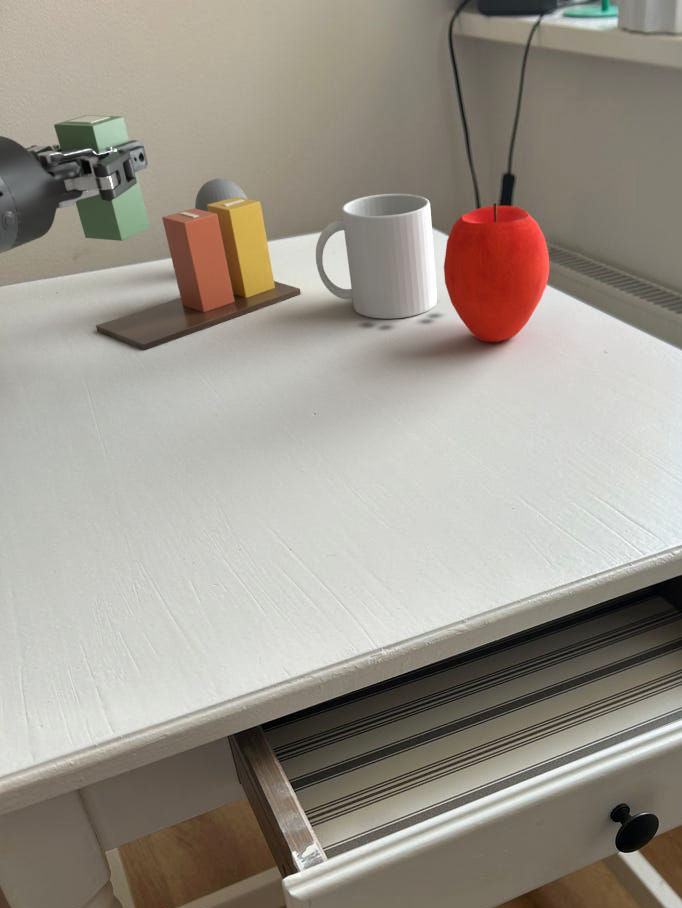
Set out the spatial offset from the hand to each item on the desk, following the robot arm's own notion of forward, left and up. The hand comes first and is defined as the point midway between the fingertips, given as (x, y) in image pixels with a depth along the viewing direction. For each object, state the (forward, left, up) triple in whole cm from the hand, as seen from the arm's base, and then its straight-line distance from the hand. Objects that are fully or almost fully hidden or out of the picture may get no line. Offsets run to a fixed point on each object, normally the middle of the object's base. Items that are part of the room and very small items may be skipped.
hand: (119, 152), depth 85 cm
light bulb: (-16, +20, -18) cm, 31 cm away
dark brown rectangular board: (-7, +9, -18) cm, 21 cm away
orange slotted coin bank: (-7, +10, -17) cm, 21 cm away
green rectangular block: (+1, -3, -6) cm, 7 cm away
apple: (+24, +22, -18) cm, 37 cm away
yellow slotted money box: (-7, +15, -17) cm, 24 cm away
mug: (+8, +22, -18) cm, 29 cm away
